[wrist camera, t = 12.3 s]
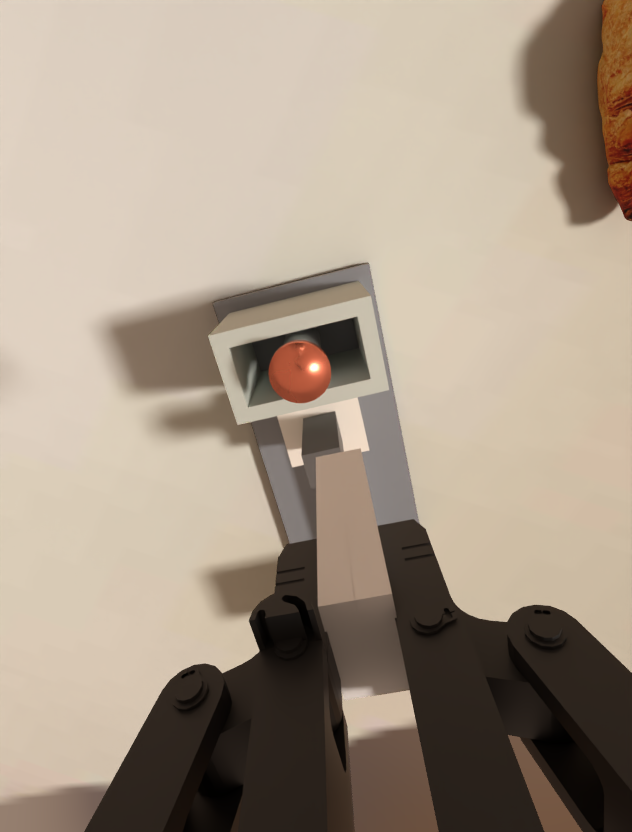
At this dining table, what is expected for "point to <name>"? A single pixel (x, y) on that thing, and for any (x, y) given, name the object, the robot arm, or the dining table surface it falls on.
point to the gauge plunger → (300, 367)
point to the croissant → (617, 98)
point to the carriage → (322, 433)
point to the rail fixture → (350, 378)
